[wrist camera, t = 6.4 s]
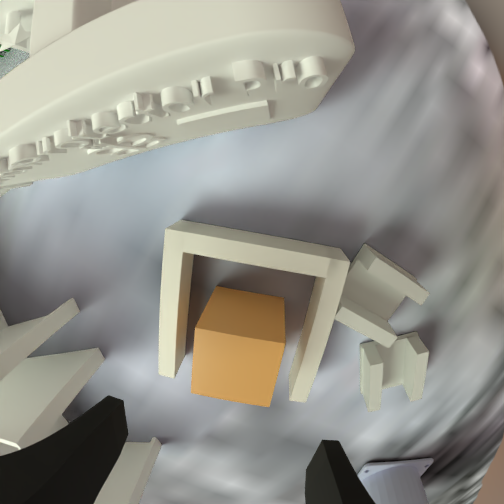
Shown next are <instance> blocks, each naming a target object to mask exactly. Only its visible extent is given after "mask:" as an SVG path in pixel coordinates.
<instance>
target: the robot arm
mask: <svg viewBox="0 0 504 504" xmlns="http://www.w3.org/2000/svg"><path fill="white" fill-rule="evenodd" d="M127 436H128V429H127V422H126V416H125V409H124V401H123V400H120V399H117V398H115V397H112V396H107V397H105V398H104V399H103V400H101V401H100V402H99V403H97V404H96V405H95V406H93V407H92V408H91V409H89V410H88V411H87V412H85V413H84V414H83V415H81V416H80V417H78V418H77V419H75V420H74V421H72V422H71V423H69V424H68V425H66V426H65V427H63V428H62V429H60V430H58V431H57V432H55V433H53V434H52V435H50V436H48V437H46V438H44V439H42V440H41V441H39V442H36V443H34V444H32V445H30V446H28V447H25V448H23V449H20V450H17V451H15V452H12V453H9V454H6V455H2V456H0V504H94V502H95V500H96V498H97V496H98V494H99V492H100V490H101V489H102V487H103V485H104V483H105V481H106V480H107V478H108V476H109V474H110V473H111V471H112V469H113V467H114V465H115V464H116V462H117V460H118V458H119V456H120V454H121V452H122V449H123V447H124V444H125V441H126V439H127ZM433 461H434V460H433V458H425V459H416V460H407V461H395V462H378V463H367V464H365V465H364V466H363V468H362V469H361V471H360V472H359V473H358V475H357V474H356V472H355V470H354V469H353V467H352V465H351V463H350V461H349V459H348V458H347V456H346V454H345V452H344V450H343V448H342V446H341V444H340V442H339V441H334V440H322V441H321V443H320V445H319V447H318V449H317V451H316V453H315V454H314V456H313V458H312V460H311V462H310V463H309V465H308V467H307V469H306V481H305V500H306V504H429V503H428V500H427V496H426V493H425V490H424V487H423V484H422V481H421V478H420V477H421V475H422V474H423V473H424V472H425V471H426V470H427V469H428V468H429V466H430V465H431V464H432V463H433Z"/></svg>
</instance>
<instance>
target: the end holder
mask: <svg viewBox="0 0 504 504" xmlns="http://www.w3.org/2000/svg"><path fill="white" fill-rule="evenodd" d="M194 254H196V255H202V256H207V257H212V258H218V259H223V260H229V261H234V262H239V263H245V264H250V265H256V266H261V267H267V268H272V269H278V270H283V271H289V272H295V273H300V274H306V275H312V276H316V278H315V282H314V286H313V290H312V294H311V298H310V302H309V306H308V310H307V314H306V317H305V321H304V325H303V329H302V332H301V336H300V339H299V343H298V346H297V350H296V353H295V357H294V360H293V364H292V367H291V370H290V374H289V397H290V401H298V402H306V400H307V398H308V395H309V392H310V390H311V387H312V384H313V381H314V379H315V376H316V373H317V370H318V367H319V364H320V362H321V359H322V356H323V353H324V350H325V347H326V344H327V341H328V337H329V334H330V331H331V328H332V325H333V322H334V318H335V315H336V312H337V308H338V305H339V301H340V298H341V295H342V291H343V287H344V284H345V280H346V276H347V273H348V269H349V265H350V261H349V260H348V258H347V257H346V255H345V254H344V253H343V251H342V250H341V249H340V248H335V247H330V246H325V245H320V244H314V243H309V242H304V241H298V240H293V239H287V238H282V237H277V236H271V235H266V234H260V233H254V232H249V231H243V230H238V229H232V228H226V227H220V226H215V225H209V224H203V223H197V222H191V221H185V220H179V221H178V222H176V223H174V224H173V225H171V226H169V227H167V228H166V229H165V239H164V251H163V264H162V279H161V297H160V321H159V375H163V376H167V377H171V378H175V376H176V374H177V372H178V370H179V367H180V365H181V363H182V361H183V359H184V357H185V348H186V334H187V321H188V310H189V299H190V288H191V278H192V268H193V259H194Z"/></svg>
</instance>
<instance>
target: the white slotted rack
mask: <svg viewBox="0 0 504 504" xmlns="http://www.w3.org/2000/svg"><path fill="white" fill-rule="evenodd" d="M31 184H33V183H32V181H31V182H24V183H18V184H12V185H6V186H0V197H1V196H3V195H4V194H5V193H6V192H8V191H9V190H10V189H14V188H20V187H26V186H30V185H31ZM79 312H80V311H79V309H78V306H77V304H76V302H75V300H74V298H71V299H69V300H68V301H67V302H65V303H64V304H62V305H61V306H60V307H58V308H57V309H56V310H54V311H53V312H52V313H50V314H49V315H47V316H44V317H40V318H37V319H33V320H29V321H26V322H22V323H19V324H15V325H12V326H8V325H7V323H6V321H5V318H4V316H3V314H2V312H1V310H0V456H2V455H6V454H9V453H12V452H15V451H17V450H20V449H23V448H25V447H28V446H30V445H32V444H34V443H36V442H39V441H41V440H42V439H44V438H46V437H48V436H50V435H52V434H53V433H55V432H57V431H58V430H60V429H62V428H63V427H65V426H66V425H68V424H69V423H68V422H67V421H66V419H65V418H64V417H63V415H62V413H63V412H64V411H65V409H66V408H67V407H68V406H69V404H70V403H71V402H72V400H73V399H74V398H75V397H76V395H77V394H78V393H79V392H80V390H81V389H82V388H83V387H84V385H85V384H86V383H87V382H88V380H89V379H90V378H91V377H92V375H93V374H94V373H95V372H96V370H97V369H98V368H99V367H100V366H101V364H102V363H103V362H104V361H105V359H104V357H103V355H102V353H101V351H100V350H99V348H93V349H87V350H80V351H74V352H67V353H60V354H53V355H46V356H38V357H30V358H26V357H28V356H29V355H30V354H31V353H32V352H33V351H34V350H35V349H37V348H38V347H39V346H40V345H41V344H42V343H43V342H45V341H46V340H47V339H48V338H49V337H50V336H52V335H53V334H54V333H55V332H56V331H58V330H59V329H60V328H61V327H62V326H63V325H65V324H66V323H67V322H68V321H69V320H71V319H72V318H73V317H74V316H75V315H77V314H78V313H79ZM161 446H162V445H161V443H160V442H159V441H158V439H157V438H156V437H152V440H151V442H150V443H147V442H125V444H124V447H123V449H122V452H121V454H120V456H119V458H118V460H117V462H116V464H115V465H114V467H113V469H112V471H111V473H110V474H109V476H108V478H107V480H106V481H105V483H104V485H103V487H102V489H101V490H100V492H99V494H98V496H97V498H96V500H95V502H94V504H139V502H140V499H141V497H142V494H143V491H144V489H145V486H146V484H147V481H148V479H149V476H150V474H151V471H152V469H153V466H154V464H155V461H156V459H157V456H158V454H159V451H160V449H161Z"/></svg>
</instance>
